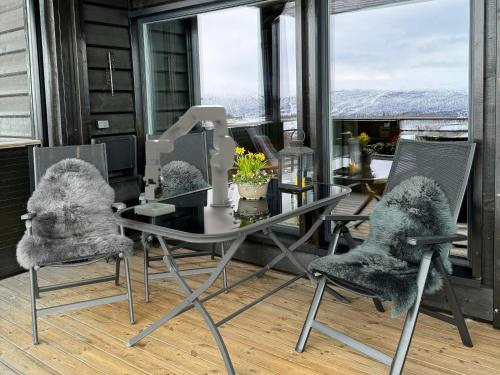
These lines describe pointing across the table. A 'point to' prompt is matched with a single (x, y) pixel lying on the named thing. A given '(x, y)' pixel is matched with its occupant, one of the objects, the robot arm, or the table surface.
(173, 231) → the table surface
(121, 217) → the table surface
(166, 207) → the tray
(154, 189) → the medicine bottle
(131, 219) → the table surface
